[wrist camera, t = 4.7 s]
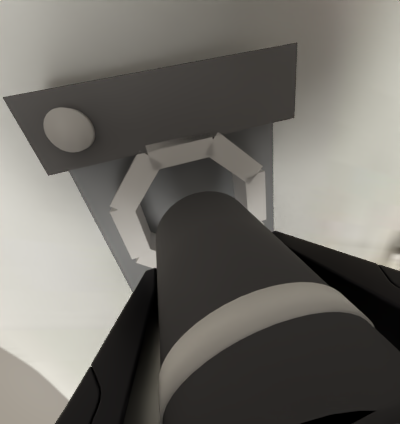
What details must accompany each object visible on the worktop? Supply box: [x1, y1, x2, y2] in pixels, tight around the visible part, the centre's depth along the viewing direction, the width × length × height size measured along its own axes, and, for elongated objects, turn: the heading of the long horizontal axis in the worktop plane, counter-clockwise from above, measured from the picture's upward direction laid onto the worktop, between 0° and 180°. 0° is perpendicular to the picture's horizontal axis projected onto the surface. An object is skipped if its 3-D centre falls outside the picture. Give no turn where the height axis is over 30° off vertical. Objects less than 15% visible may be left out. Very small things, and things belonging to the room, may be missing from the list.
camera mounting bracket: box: [3, 43, 297, 292], centre depth 12 cm, size 14×12×4 cm
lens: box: [156, 191, 400, 424], centre depth 6 cm, size 5×5×7 cm
